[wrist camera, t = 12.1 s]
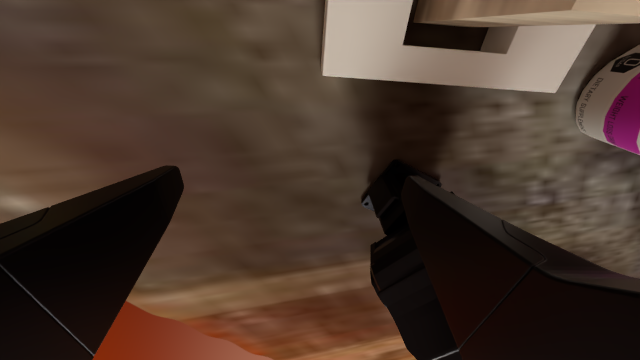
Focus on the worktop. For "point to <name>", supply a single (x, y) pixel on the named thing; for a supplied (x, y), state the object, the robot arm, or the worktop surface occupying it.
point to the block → (526, 12)
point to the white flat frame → (444, 50)
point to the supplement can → (613, 103)
